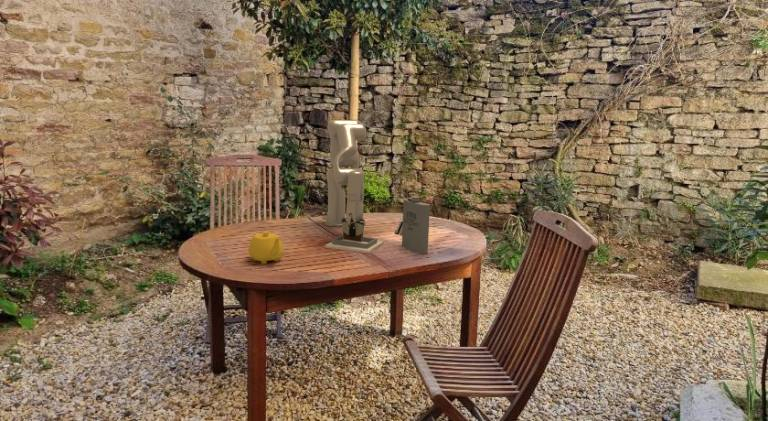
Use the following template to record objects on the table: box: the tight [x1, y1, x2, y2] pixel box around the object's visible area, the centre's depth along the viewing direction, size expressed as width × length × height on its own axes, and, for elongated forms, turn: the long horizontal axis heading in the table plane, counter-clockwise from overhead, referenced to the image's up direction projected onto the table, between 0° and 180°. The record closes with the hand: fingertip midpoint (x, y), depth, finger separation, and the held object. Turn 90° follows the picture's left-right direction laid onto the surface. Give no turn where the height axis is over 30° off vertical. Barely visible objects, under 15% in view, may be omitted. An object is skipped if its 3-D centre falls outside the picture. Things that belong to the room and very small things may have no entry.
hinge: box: [394, 219, 403, 236], centre depth 266 cm, size 17×5×10 cm, turn 128°
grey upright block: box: [401, 195, 431, 255], centre depth 232 cm, size 17×5×25 cm, turn 33°
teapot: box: [247, 230, 285, 265], centre depth 209 cm, size 13×20×12 cm
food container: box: [341, 217, 366, 242], centre depth 237 cm, size 12×6×10 cm, turn 68°
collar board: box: [324, 234, 384, 254], centre depth 237 cm, size 22×18×3 cm
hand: (354, 234), depth 237 cm, fingers open, 5 cm apart
